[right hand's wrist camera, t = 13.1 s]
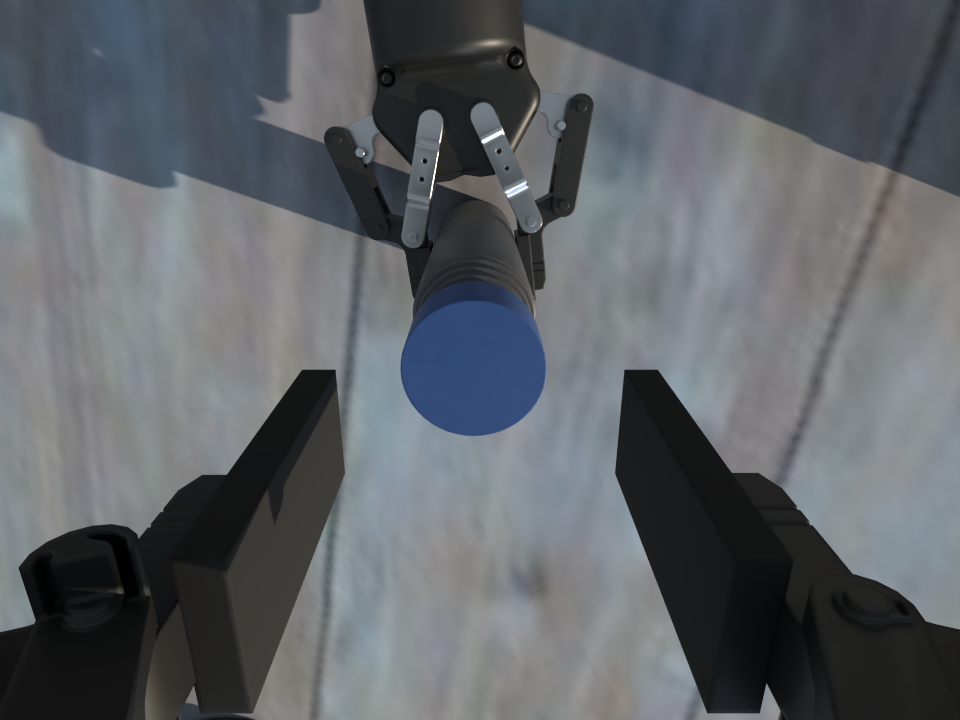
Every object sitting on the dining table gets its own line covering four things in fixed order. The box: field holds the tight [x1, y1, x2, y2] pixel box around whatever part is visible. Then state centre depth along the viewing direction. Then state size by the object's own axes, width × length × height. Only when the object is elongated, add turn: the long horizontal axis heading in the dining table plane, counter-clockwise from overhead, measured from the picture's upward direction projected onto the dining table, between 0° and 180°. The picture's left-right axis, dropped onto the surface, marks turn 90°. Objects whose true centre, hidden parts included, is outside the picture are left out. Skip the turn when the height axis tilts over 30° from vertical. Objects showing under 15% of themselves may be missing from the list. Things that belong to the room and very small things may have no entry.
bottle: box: [413, 200, 536, 320], centre depth 29 cm, size 5×5×23 cm
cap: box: [401, 281, 547, 436], centre depth 19 cm, size 4×4×2 cm
